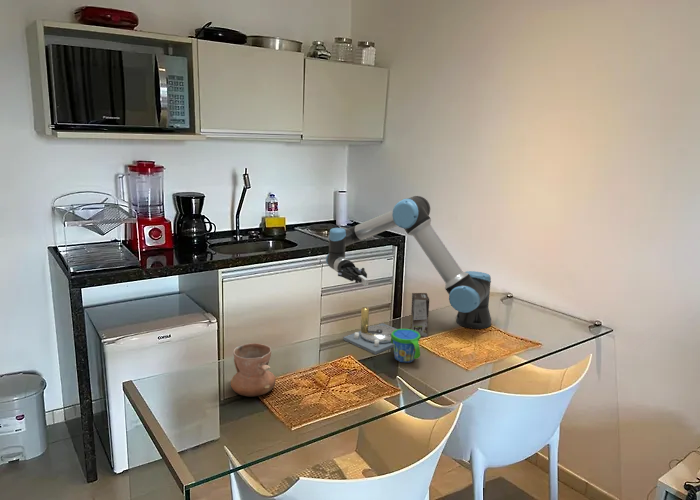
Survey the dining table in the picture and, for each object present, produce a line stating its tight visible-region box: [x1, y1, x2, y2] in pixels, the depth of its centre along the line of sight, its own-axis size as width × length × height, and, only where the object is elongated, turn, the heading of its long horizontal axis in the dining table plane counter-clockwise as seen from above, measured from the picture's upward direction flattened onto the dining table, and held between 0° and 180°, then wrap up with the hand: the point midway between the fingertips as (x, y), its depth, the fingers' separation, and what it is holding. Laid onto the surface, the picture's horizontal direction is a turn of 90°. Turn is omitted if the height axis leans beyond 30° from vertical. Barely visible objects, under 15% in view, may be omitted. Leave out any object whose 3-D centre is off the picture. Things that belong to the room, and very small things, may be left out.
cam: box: [360, 306, 395, 343], centre depth 214 cm, size 15×15×12 cm
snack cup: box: [391, 328, 422, 364], centre depth 198 cm, size 16×10×10 cm
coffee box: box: [410, 292, 430, 337], centre depth 222 cm, size 9×6×16 cm
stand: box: [342, 322, 398, 355], centre depth 216 cm, size 18×23×4 cm
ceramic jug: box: [230, 342, 277, 398], centre depth 173 cm, size 18×14×14 cm
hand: (366, 282), depth 219 cm, fingers closed
